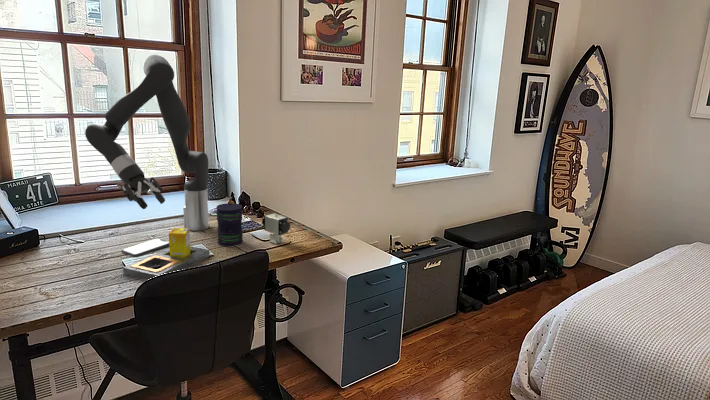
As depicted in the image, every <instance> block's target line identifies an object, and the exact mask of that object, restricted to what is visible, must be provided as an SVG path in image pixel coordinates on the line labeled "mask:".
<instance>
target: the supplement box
mask: <svg viewBox="0 0 710 400" xmlns="http://www.w3.org/2000/svg"><path fill="white" fill-rule="evenodd" d="M168 242H169V247H168V248H170V256H173V257H178V258H184V257H186V256H188V255H190V254H191V249H190V246H191V230H190V229H189V228H184V227H182V228H180V227H174V228H172V229H171V230H170V231H169V232H168Z"/></svg>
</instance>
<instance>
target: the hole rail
mask: <svg viewBox="0 0 710 400" xmlns="http://www.w3.org/2000/svg"><path fill="white" fill-rule="evenodd" d="M190 249H191V254H190V255H188V256H186V257H184V258H178V257H173V256H170V248H169V247H166V248H163V249H161V250H159V251H156V253H153V254H150V255H148V256H146V257H144V258H142V259H140V260H136V261H135V262H132V263H130V264H128V265H126V266H123V267H122V273H123V275H124V276H127V277H132V278H135V279H140V280H145V281H148V279H150V278H153V277H155V276H158V275H161V274H164V273H169V272H173V271H177V270H182V269H184V270H186V269H188V268H190V267H192V266H193V265H196V264H198V263H199V262H201V261H203V260H205V259H208V258H209V257H210V249H205V248H202V247H196V246H192V245H190ZM154 266H159V267H160V268H157V269H155V268H152V267H154ZM182 271H183V270H182Z"/></svg>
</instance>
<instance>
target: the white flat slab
mask: <svg viewBox="0 0 710 400" xmlns="http://www.w3.org/2000/svg"><path fill="white" fill-rule="evenodd" d="M167 248H169V240H164V239H161V238H153V239H150V240H148V241H144V242H141V243H138V244H135V245H132V246H129V247H124V248H123V249H121V253H122V254H125V255H127V256H130V257H132V258H137V257H140V256H144V255H148V254H150V253H153V252H158V251H161V250H164V249H167Z"/></svg>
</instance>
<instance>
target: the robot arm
mask: <svg viewBox="0 0 710 400" xmlns="http://www.w3.org/2000/svg"><path fill="white" fill-rule="evenodd" d="M142 66H143V67H142V68H143V74H144V75H145V76H144V78H143V80H142V81H141V82H140V84H138V86H137V87H135V88H134V89H133V90H132V91H130V92H128V93H127V94H125V95H123V96H122V97H119V99H118V100H117V101H116V102H115V103H114V104H113V105H112V106H111V107H110V108H109V109H108V110H107V111H106V112H105V115H104V119H105V120H106V122H105V123H104V124H103V125H102V124H98V123H91V124H90V125H87V127H86V129H85V131H84V135H85V138H86V140H87V142H88V143H89V144H90V145H91V146H92V148H94V149H95V150H96V151H98V153H100V154H101V155H102V156H103V157H104V158H105V160H106V161H107V162H108V164H109V165H110V166H111V168H112V169H113V171H114V173H115V174H116V175H117V176H118V178H119V179H120V180H121V182H122V183H123V185H122V187H121V188H120V189H121V191H122V192H123V194H124V195H125V197H126V198H127V200H128V201H129V202H136V203H137V205H138V206H139V207H140V208H141V209H142V210H145V209H147V208H148V207H149V205H148V203H147V202H146V201H145V200H144V198H143V197H141V195H143V194H146V193H147V194H149V195H150V194H151V195H153V196H154V197H155V198H156V200H157V201H158V203H160V205H161V204H164V203H165V202H166V199H165V197H164V196H163V194H162V193H161V192H162V191H163V190H164V189H163V187H162V185H161V184H159V182H158V181H157V180H156V178H155V177H151V178H150V179H147V178H146V176H145V173H144V171H143V170H142V169H141V167H140V166H139V165H138V164H137V162H136V161H135V160H134V159H133V158H132V157H131V156H130V155H129V153H128V152H127V151H126V149H125V148H124V147H123V146H122V145H121V144H120V143H117V142H115V141H116V140H117V138H118V137H119V135H120V133H121V132H122V129H123V127H124V126H125V125H126V123H128V122H129V121H130V119H131V118H132V117H133V116H134V115H135V114H136V113H137V112H138V111H139V110H140V109H141V108H142V107H143V106H144V105H145V104H146V103H148V102H149V101H150V100H151V99H152V98H154V97H156V101H157V105H158V107H159V111H160V114H161V117H162V120H163V123H164V126H165V128H166V130H167V132H168V134H169V137H170V140H171V142H172V145H173V148H174V151H175V156H176V160H177V164H178V166H179V168H180V170H181V172H184V173H186V174H194V178H193V179H192V180H191V179H190V180H187V181H185V182H184V189H183V190H184V206H183V226H184V227H183V228H189V229H190V231H195V232H196V231H197V232H198V231H203V230H207V229H208V228H209V199H208V198H209V197H208V184H209V156H208V155H207V153H205V151H194V150H190V149H189V147H188V145H187V140H188V136H189V134H190V130H191V126H192V125H191V120H190V118H189V114H188V111H187V109H186V107H185V105H184V103H183V101H182V99H181V98H180V96H179V93H178V92H177V90H176V88H175V85H174V82H173V81H174V78H175V71H174V68H173V67H172V65H171V64H170V63H169V61H168V60H167V59H166V58H165V57H164V56H161V55H158V54H150V55H148V56H147V57H146V58H145V60H144V61H143V65H142Z"/></svg>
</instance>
